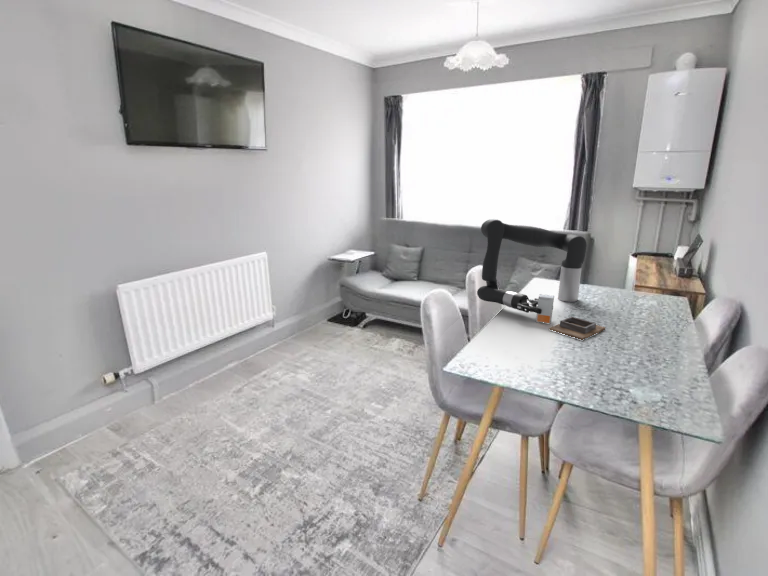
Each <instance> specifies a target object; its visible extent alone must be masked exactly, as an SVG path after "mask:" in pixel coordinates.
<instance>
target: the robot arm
mask: <svg viewBox="0 0 768 576" xmlns="http://www.w3.org/2000/svg"><path fill="white" fill-rule="evenodd" d="M480 231H481V234H482V235H483V236H484V237H486V238H487V247H486V252H485V256H484V258H483V262H482V271H481V279H482V280H483V281H484V282H485V283H486V285H483V286H480V287H479V288H478V289H477V291H476V292H477V293H476V295H477V297H478V298H479V299H480V300H481V301H485V302H489V303H490V302H491V303H497V304H500V305H502V306H506V307H508V308H511V309H513V310H517V311H521V312H524V313H527V314H528V313H535V314H537V313H538V314H541V313H542V309H540V308H537V307H538V298H534V299H529V297H528V295H526V294H523V293H520V292H517V291H516V292H515V291H510V290H507V289H506V290H505V289H500V288H499V286H498V280H497V274H498V264H499V263H498V262H499V255H500V250H501V245H502V242H503V240H509V241H511V242H514V243H518V244H522V245H525V246H531V247H537V248H538V247H539V248H545V247H546V248H547V247H548V248H550V247H551V248H555V249H558V250H562V251H564V252H566V256H565V259H563V260H561V268H560V276H559V285H558V292H557V299H558V300H559V301H562V302H567V303H568V302H569V303H575V302H577V301H578V300H579V295H580V294H579V293H580V287H581V285H580V284H581V274H582V266H583V264H584V262H585V259H586V257H585V256H586V253H587V246H588V245H587V240H586V239H585V237H584V236H581V235H578V234H574V233H561V232H554V231H551V230H547V229H545V228H541V227H536V226H533V225H532V226H531V225H519V224H507V223H503V222H502V221H501V220H499V219H495V218H493V219H487V220H486V221H484V222H483V223H482V224H481V227H480Z"/></svg>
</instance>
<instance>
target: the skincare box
mask: <svg viewBox="0 0 768 576" xmlns="http://www.w3.org/2000/svg"><path fill="white" fill-rule="evenodd" d="M537 299H538V305H537V306H538V307H537V308H540V309H542V313H541V314H538V313H536V318H535V322H536V323H539V322H544V323H543V324H546V323H550V324H551V322H552V319H553V317H552V315H553V310H554V302H555V295H550V294H542V293H540V294H539V295H538V298H537Z"/></svg>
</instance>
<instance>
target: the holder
mask: <svg viewBox="0 0 768 576" xmlns="http://www.w3.org/2000/svg"><path fill="white" fill-rule="evenodd" d="M549 329H550V330H553V331H556V332H559V333H562V334H565V335H568V336H571V337H575V338H578V339H581V340H583V339H585V338H588V337H590V336H592V335H594V334H596V333H598V334H600V333H602V332H604V331H603V330H605V331H606V327H605V326H602V325H598V324H597V323H596V322H592V321H589V320H585V319H581V318H578V317H575V316H568V317H567V318H564V319H561V320H560V321H559V323H557V324H555V325H552V326H550V327H549ZM549 329H548V330H549ZM601 331H602V332H601ZM556 332H555V333H556ZM599 332H600V333H599ZM559 333H558V334H559ZM562 334H561V335H562ZM565 335H564V336H565ZM596 335H597V334H596ZM568 336H567V337H568ZM594 336H595V335H594ZM571 337H570V338H571ZM592 337H593V336H592ZM590 338H591V337H590ZM588 339H589V338H588ZM585 340H586V339H585ZM583 341H584V340H583Z"/></svg>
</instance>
